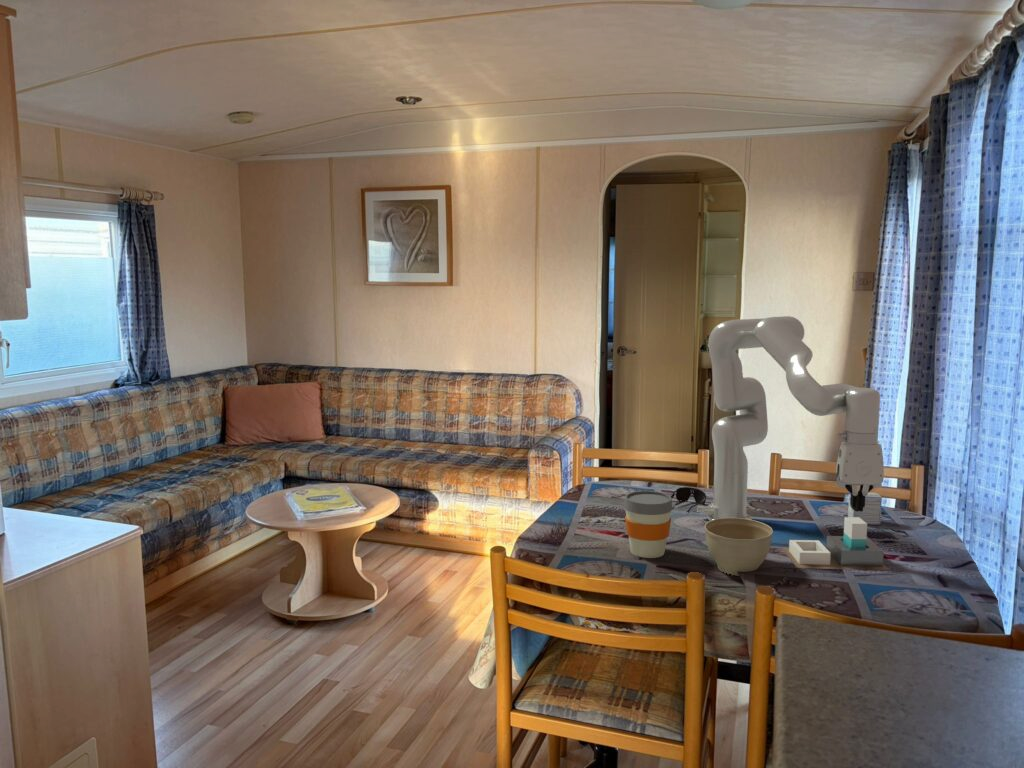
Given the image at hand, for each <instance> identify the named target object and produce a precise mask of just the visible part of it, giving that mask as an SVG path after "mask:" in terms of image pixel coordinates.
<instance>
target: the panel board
mask: <svg viewBox="0 0 1024 768" xmlns="http://www.w3.org/2000/svg"><path fill="white" fill-rule="evenodd" d="M781 549H782V551H783V552H784V553H785V554H786V556H787V557H788V558H789V560H790V561H791V563H792V564H793V566H795V568H796V569H818V570H819V569H822V570H823V569H824V570H827V569H828V570H831V569H832V570H863V571H865V570H867V571H868V570H869V571H870V570H872V571H875V570H876V571H890V570H891V569H890V568H889V567H888V566H887V565H886V564H884V563H883V567H864V566H840V565H839V564H838V563H837V562H836V560H835V559H834V558H833V557H832V556H831V555H830V565H825V564H799V563H798V562H797V560H796V559H795V558H794V557H793V555H792V554H791V553H790V552H789V546H788V547H786V546H785V547H781Z"/></svg>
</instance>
